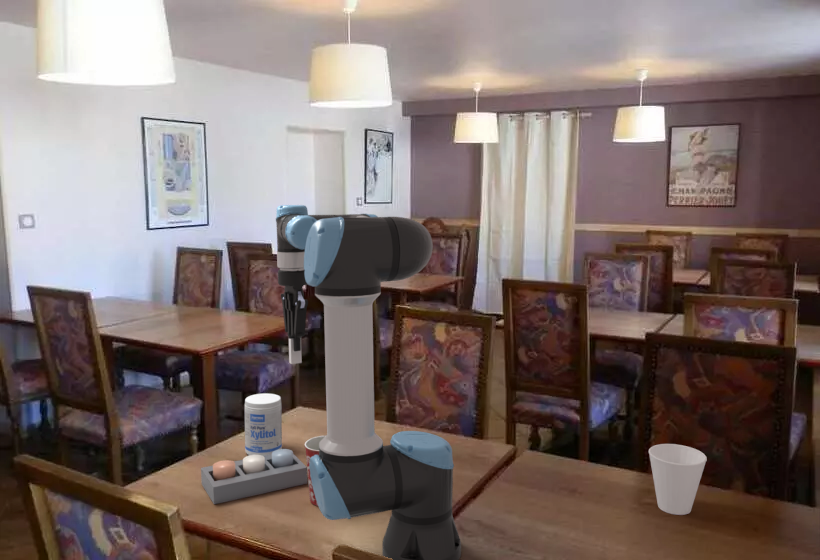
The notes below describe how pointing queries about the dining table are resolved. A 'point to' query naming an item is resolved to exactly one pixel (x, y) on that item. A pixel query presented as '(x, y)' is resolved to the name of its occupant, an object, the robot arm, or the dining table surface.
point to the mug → (311, 450)
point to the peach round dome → (223, 470)
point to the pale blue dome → (282, 458)
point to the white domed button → (253, 464)
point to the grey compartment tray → (253, 480)
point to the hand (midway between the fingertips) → (295, 362)
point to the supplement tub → (263, 424)
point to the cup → (676, 476)
